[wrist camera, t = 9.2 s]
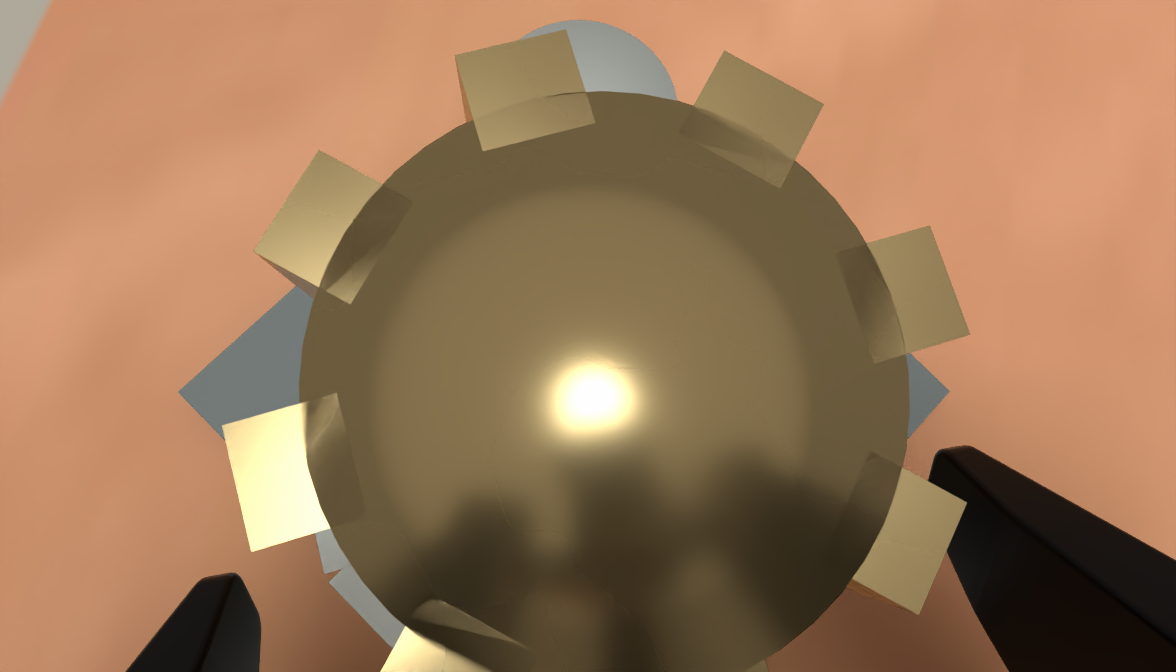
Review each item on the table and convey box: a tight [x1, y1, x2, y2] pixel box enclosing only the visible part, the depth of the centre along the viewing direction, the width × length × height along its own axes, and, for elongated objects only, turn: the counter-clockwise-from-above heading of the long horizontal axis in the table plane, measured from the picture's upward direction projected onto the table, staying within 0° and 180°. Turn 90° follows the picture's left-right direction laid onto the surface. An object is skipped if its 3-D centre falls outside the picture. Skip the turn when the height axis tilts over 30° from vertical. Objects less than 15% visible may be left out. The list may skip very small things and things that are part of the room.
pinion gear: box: [222, 29, 970, 672], centre depth 12 cm, size 6×6×11 cm
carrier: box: [179, 20, 949, 649], centre depth 17 cm, size 12×12×3 cm
